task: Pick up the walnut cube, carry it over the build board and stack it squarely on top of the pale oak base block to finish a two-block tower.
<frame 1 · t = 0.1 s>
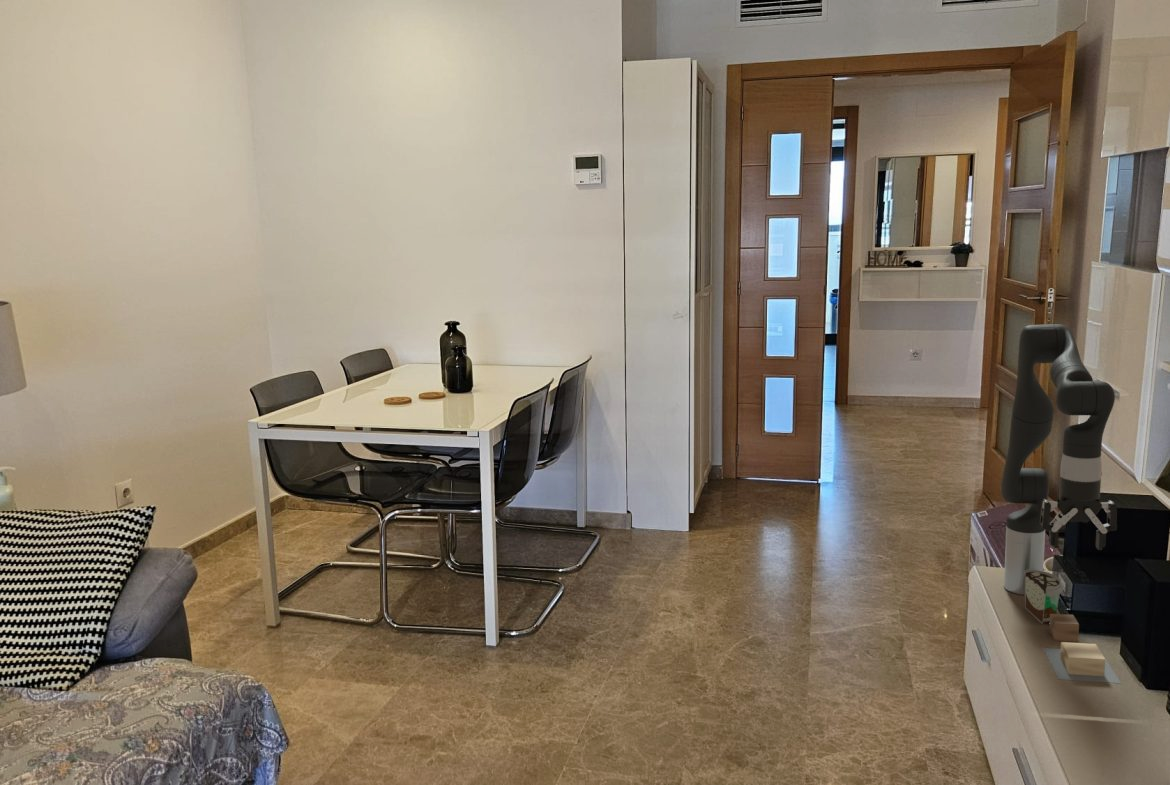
hand: (1076, 547, 190), 29 cm above the tv stand, tool pointing down, fingers open, 8 cm apart
build board: (1080, 667, 198), on the tv stand
walnut cube: (1063, 638, 211), on the tv stand
oak base block: (1081, 667, 197), point 1 cm above the tv stand, touching build board
food container: (1046, 616, 223), on the tv stand
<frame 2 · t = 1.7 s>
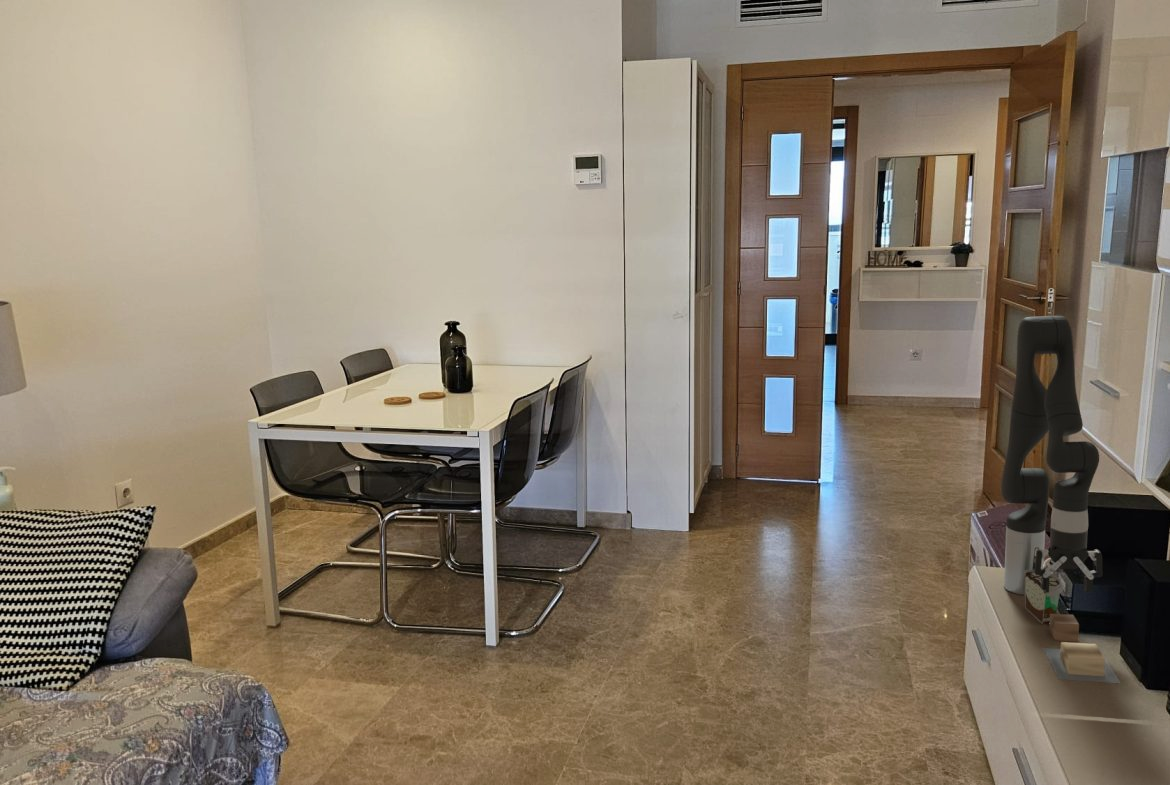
hand: (1065, 592, 209), 12 cm above the tv stand, tool pointing down, fingers open, 8 cm apart
nothing on the tv stand moved.
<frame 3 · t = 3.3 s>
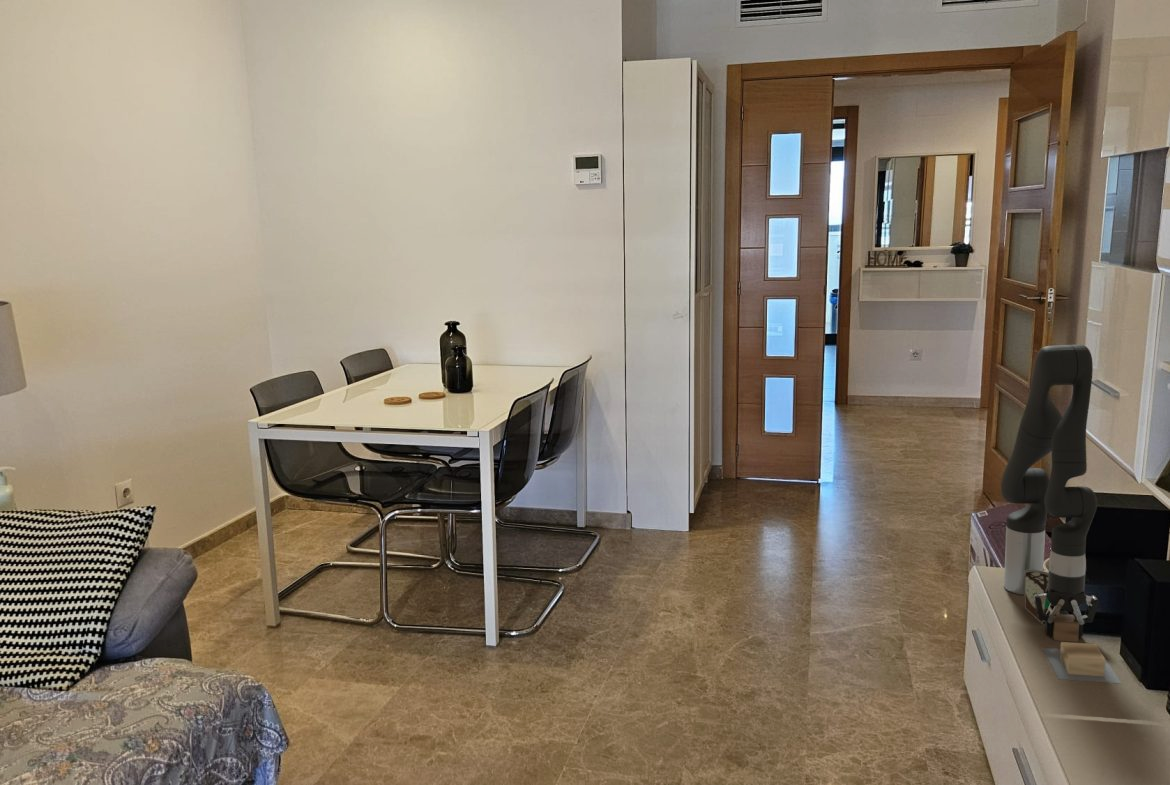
hand: (1063, 636, 211), 0 cm above the tv stand, tool pointing down, fingers closed on walnut cube, 5 cm apart
walnut cube: (1063, 638, 211), on the tv stand, touching gripper
everything else where it was.
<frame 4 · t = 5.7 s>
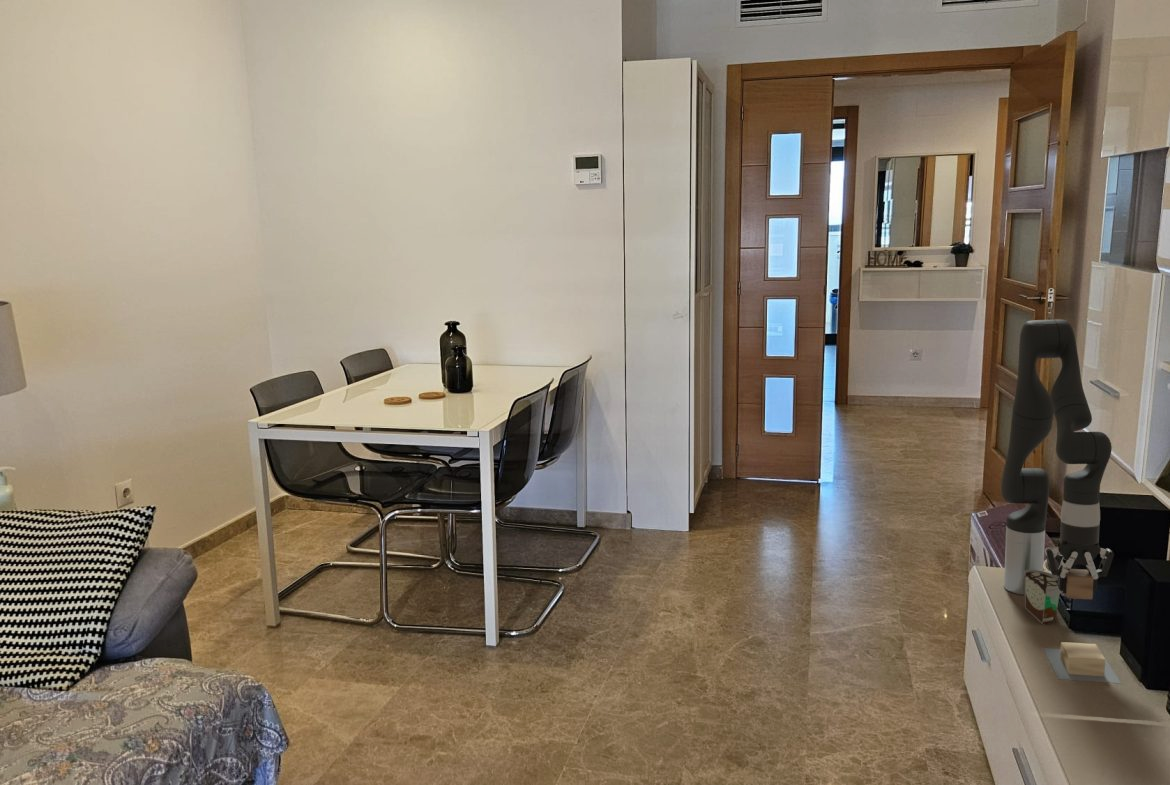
hand: (1076, 592, 200), 15 cm above the tv stand, tool pointing down, fingers closed on walnut cube, 5 cm apart
walnut cube: (1076, 594, 201), point 15 cm above the tv stand, touching gripper
everything else where it was.
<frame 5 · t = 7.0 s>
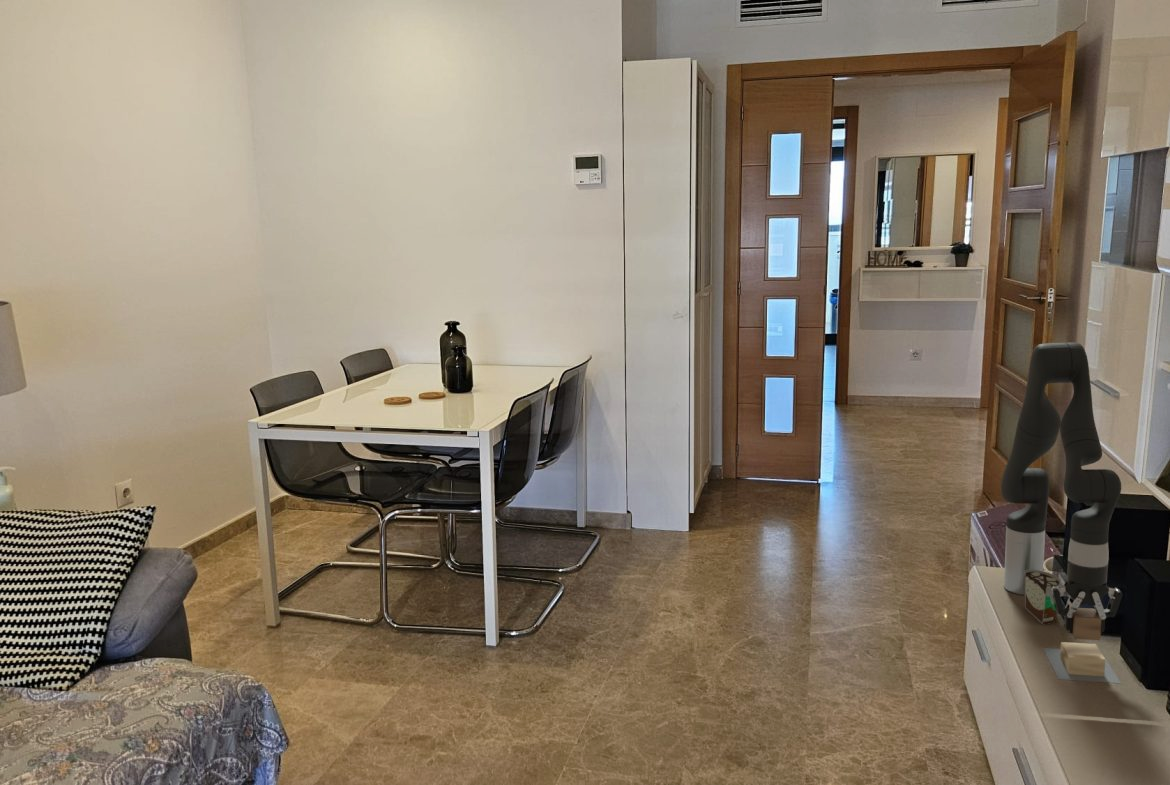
hand: (1083, 632, 195), 9 cm above the tv stand, tool pointing down, fingers closed on walnut cube, 5 cm apart
walnut cube: (1083, 634, 195), point 8 cm above the tv stand, touching gripper
everything else where it was.
when the fingers open (7 cm above the tv stand, at t = 7.9 s): walnut cube drops 1 cm, resting on oak base block.
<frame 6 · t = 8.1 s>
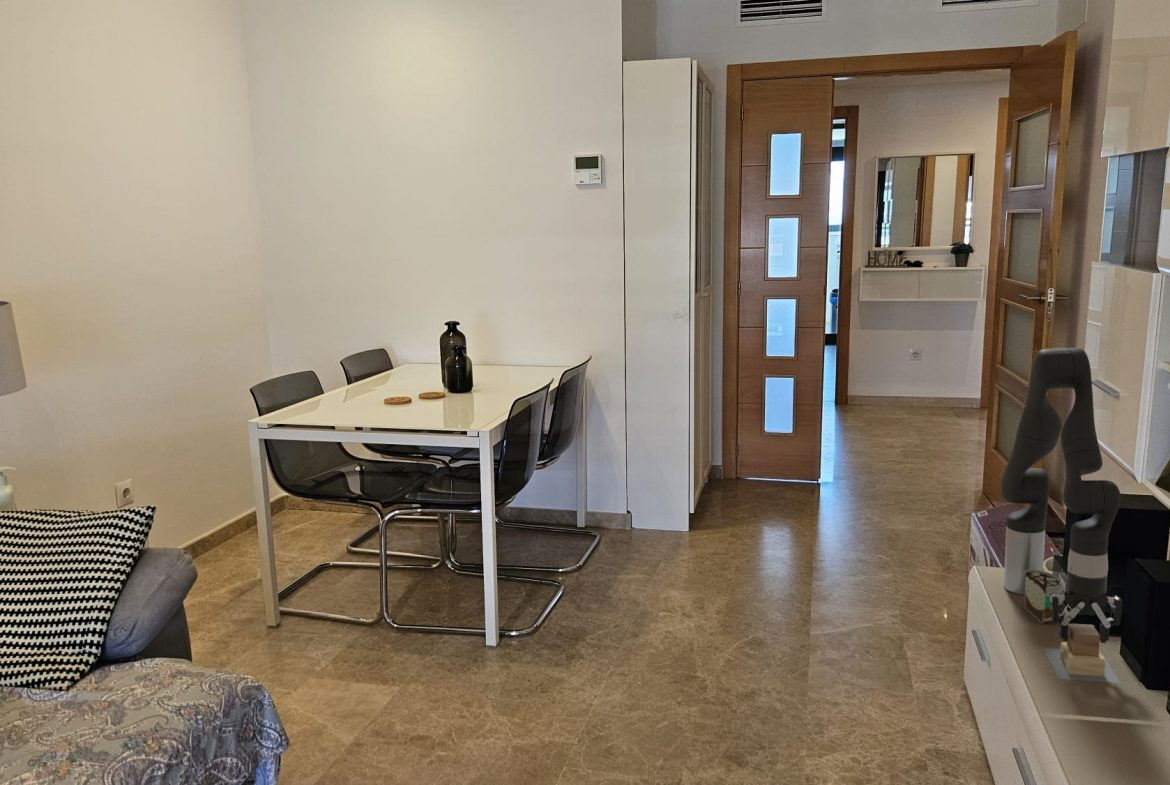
hand: (1083, 640, 196), 7 cm above the tv stand, tool pointing down, fingers open, 7 cm apart
walnut cube: (1082, 650, 196), point 5 cm above the tv stand, touching oak base block
oak base block: (1081, 667, 197), point 1 cm above the tv stand, touching build board, walnut cube
everything else where it was.
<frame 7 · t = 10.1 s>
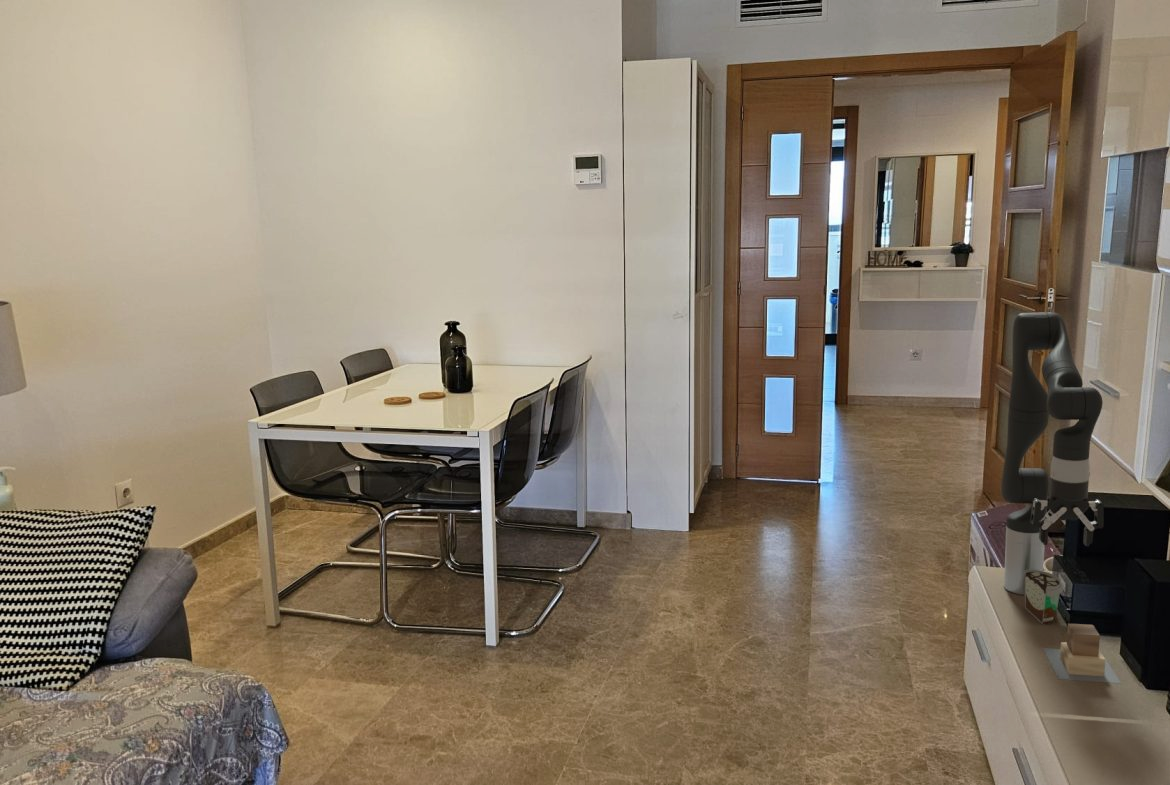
hand: (1065, 544, 200), 26 cm above the tv stand, tool pointing down, fingers open, 8 cm apart
nothing on the tv stand moved.
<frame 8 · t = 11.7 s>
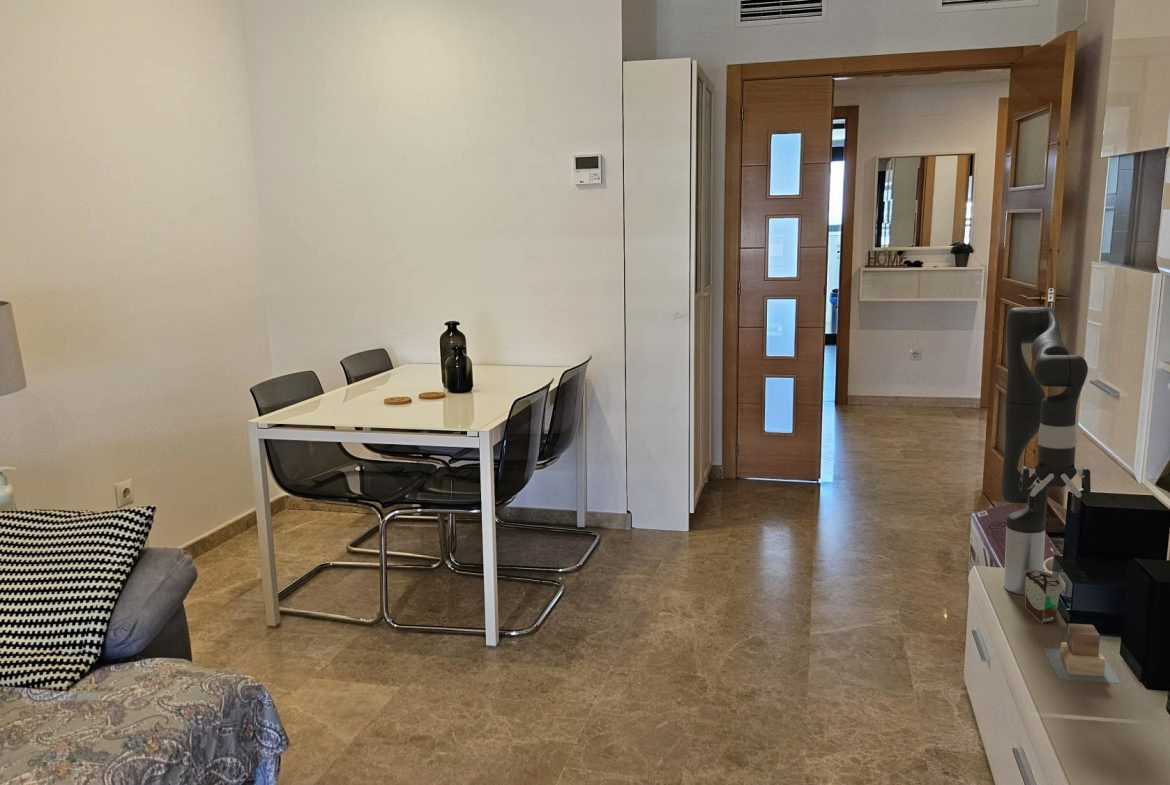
hand: (1053, 511, 204), 32 cm above the tv stand, tool pointing down, fingers open, 8 cm apart
nothing on the tv stand moved.
at the end: walnut cube 0.1 cm off-centre on the oak base block, point 4.0 cm above the oak base block's base; walnut cube tilted 0°; the gripper is holding nothing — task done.
